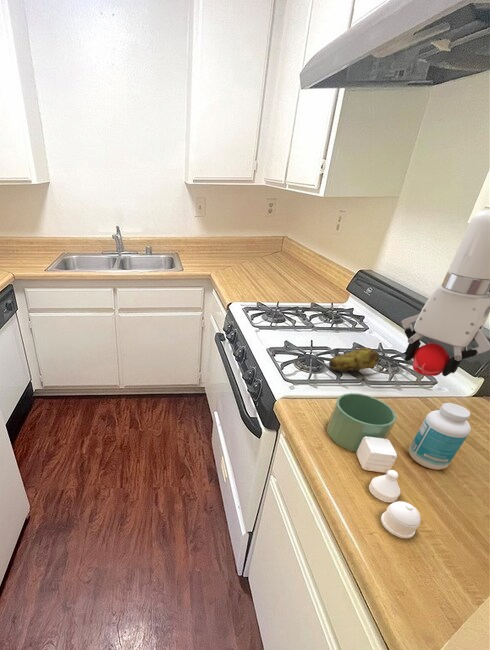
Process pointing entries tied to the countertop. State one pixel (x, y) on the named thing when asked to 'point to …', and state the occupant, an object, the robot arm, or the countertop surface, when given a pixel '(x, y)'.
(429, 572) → the countertop surface
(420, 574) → the countertop surface
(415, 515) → the container set
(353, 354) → the potato
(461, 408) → the pill bottle
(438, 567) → the countertop surface
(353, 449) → the cup
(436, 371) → the cap
